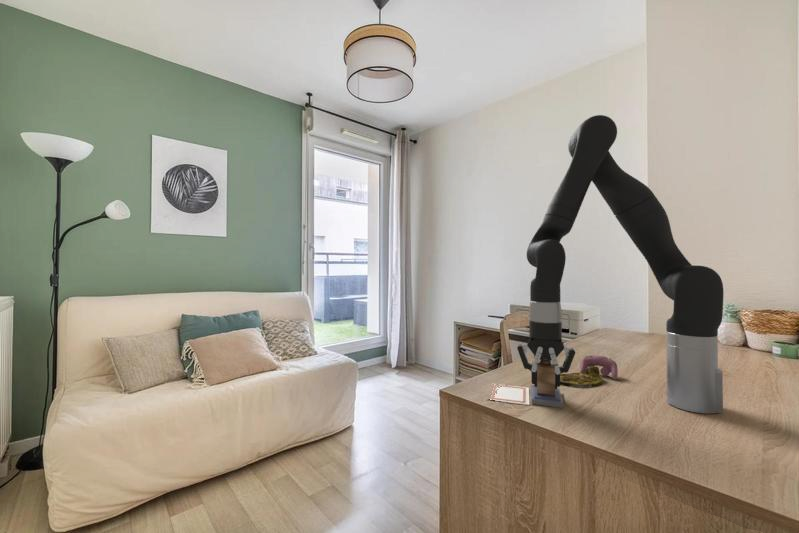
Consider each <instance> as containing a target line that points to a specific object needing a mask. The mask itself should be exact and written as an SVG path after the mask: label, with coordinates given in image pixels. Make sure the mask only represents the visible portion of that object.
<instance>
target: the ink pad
mask: <svg viewBox="0 0 799 533" xmlns="http://www.w3.org/2000/svg"><path fill="white" fill-rule="evenodd" d="M530 394H531V395H530V397H531V405H537V406H544V407H545V406H546V407H553V408H561V409H564V408H565V406H564V400H563V397H562V392H561V389H560V388H559V387H557V389H555V397H550V396H541V395H537V387H535V386H534V384H532V385H530Z"/></svg>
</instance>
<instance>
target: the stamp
mask: <svg viewBox="0 0 799 533" xmlns="http://www.w3.org/2000/svg"><path fill="white" fill-rule="evenodd" d="M537 395H541V396H550V397H555V366H553V363H552V361H550V360H546V359H544V360H540V361H539V364H538V365H537Z"/></svg>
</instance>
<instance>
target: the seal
mask: <svg viewBox="0 0 799 533" xmlns="http://www.w3.org/2000/svg"><path fill="white" fill-rule="evenodd" d="M592 370H593V371H592ZM603 381H604V380H603V378H602V374H601V372H600V368H599V367H598V366H591V367H590V366H589V367H587V369H586V372H585V373H580V372H571V373H561V375H560V385H562V384H563V386H567V387H570V386H573V387H572V388H580V387H586V388H595V387H598V385H599V386H601V385H603V383H604V382H603ZM594 386H595V387H594Z"/></svg>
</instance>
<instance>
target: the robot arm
mask: <svg viewBox="0 0 799 533" xmlns="http://www.w3.org/2000/svg"><path fill="white" fill-rule="evenodd" d="M617 135H618V127H617V124H616V122H615V121H614V120H613V119H612V118H611V117H609V116H607V115H602V114H597V115H593V116H590V117H588V118H587V119H585V120H584V121H582V123H581V124H580V125H579V126H578V127H577V128H576V130H575V131H574V132H573V133H572V135H571V136H570V138H569V140H568V145H567V148H568V152H569V155H570V156H571V158H572V159H571V162H570V164H569V166H568V168H567V170H566V172H565V175H564V176H563V178H562V180H561V182H560V183H559V185H558V187H557V188H556V191H555V192H554V195H553V196H552V199H551V201H550V202H549V205H548V207H547V210H546V212H545V215H544V217H543V221H542V223H541V224H540V226H539V227H538V228H537V230H536V232H535V234H533V237H532V238H531V240H530V242H529V244H528V246H527V250H526V260H527V262H528V263H529V264H530V265H531V267H535V268H536V270H535V277H534V278H533V279H531V282H530V285H529V287H530V289H529V292H530V293H529V294H530V295H529V296H530V299H529V300H530V302H529V309H528V310H529V312H528V319H529V320H528V321H529V323H528V327H529V328H528V329H529V333H528V334H529V335H528V336H529V337H528V338H529V339H528V341H527V343H523V344H520V343H519V344H518V345H517V346H516V347H517V348H516V349H517V351H518V354H519V357H520V360H521V363H522V366H523V368H524V369H525V370H529V371H530V372H531V384H532V385H534V386H535V387H537V365H538V364H539V361H540V360H544V359H546V360H550V361H551V362H552V363H553V366H555V389H557V388H559V387H561V384H560V375H561V374H568V372H569V370H570V368H571V367H572V366H571V365H572V363H573V360H574V357H575V355H576V350H575V349H574V348H573V347H568V346H565V345H564V343H563V338H562V337H563V335H562V334H563V332H562V327H563V326H562V325H563V324H562V322H563V321H562V320H563V315H562V314H563V313H562V312H563V311H562V305H561V304H562V303H561V283H562V279H563V276H564V270H565V265H566V259H567V258H566V257H567V256H566V251H565V248H564V246H563V245H562V243H561V241H562V239H563V238H564V237H565V236H567V235H569V233H570V232H571V230H572V228H573V226H574V224H575V222H576V219H577V218H578V215H579V212H580V209H581V207H582V204H583V203H584V199H585V197H586V195H587V192H588V189H589V188H590V185H591V183H593V185H594V186H595V187H596V189H597V190H598V192H599V194H600V195H601V196H602V199H604V201H605V203H606V204H607V205H608V207H609V208H610V211H611V212H612V213H613V215H614V217H615V219H616V220H617V221H618V223H619V225H620V226H621V227H622V228H623V230H624V231H625V232H626V233H627V236H628V237H629V238H630V239H631V241H632V243H633V244H634V245H635V247H636V248H637V250H639V252H640V253H641V254H642V256H643V258H644V259H645V260H646V262H647V264H648V266H649V267H650V269H651V271H652V273H653V276H654V277H655V279H656V281H657V283H658V286H659V288H660V289H661V291H662V292H663V294H664V295H666V297H667V298H668V299H671V300H672V301H673V313H672V315H671V316H670V318H668V319H667V321H666V331H665V333H666V336H665V337H666V401H667V403H668V405H671V406H672V407H675V408H678V409H679V410H682V411H683V410H684V411H688V412H693V413H697V414H706V415H707V414H709V415H710V414H712V415H713V414H724V391H723V390H724V385H723V383H724V382H723V381H724V379H723V378H724V377H723V373H724V372H723V371H722V369H720V368H719V350H718V348H719V347H718V346H719V345H718V344H719V343H718V342H719V341H718V340H719V339H718V337H719V336H718V335H719V333H718V332H719V328H720V326H721V325H722V321H723V316H724V315H723V314H724V312H723V311H724V283H723V280H722V278H721V276H720V274H719V273H718V272H717V271H715V269H713V268H712V267H708V266H705V265H704V266H703V265H693V264H692V263H690V261H688V259H687V258H686V257H685V255H684V253H682V251H681V250H680V248H679V247H678V245H677V244H676V242H675V239H674V235H673V233H672V228H671V224H670V219H669V217H668V214H667V212H666V210H665V208H664V206H663V205H662V203H661V202H660V200H659V199H658V198H657V196H656V195H655V194H654V192H653V191H652V190H651V189H650V188H649V186H647V185H646V184H644V183H643V182H641V181H640V180H639V179H637V178H636V177H634V176H632V175H630V174H629V173H627V172H626V171H624V170H623V169H622V168H621V167H620V165H619V164H618V163H617V162H616V160H615V159H614V157H613V156H612V154H611V152H610V151H609V150H610V149H611V147H612V146H613V144H614V143H615V142H616V139H617ZM527 349H529V350H530V352H531V353H532V355H533V360H532V362H531V363H529V361H528V357H527V356H526V355H527V354H526V353H527V352H528V350H527ZM562 352H564V356H565V358H564V361H563V364H562V366H559V363H558V359H557V358H558V357H559V355H560V354H561V353H562Z"/></svg>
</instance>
